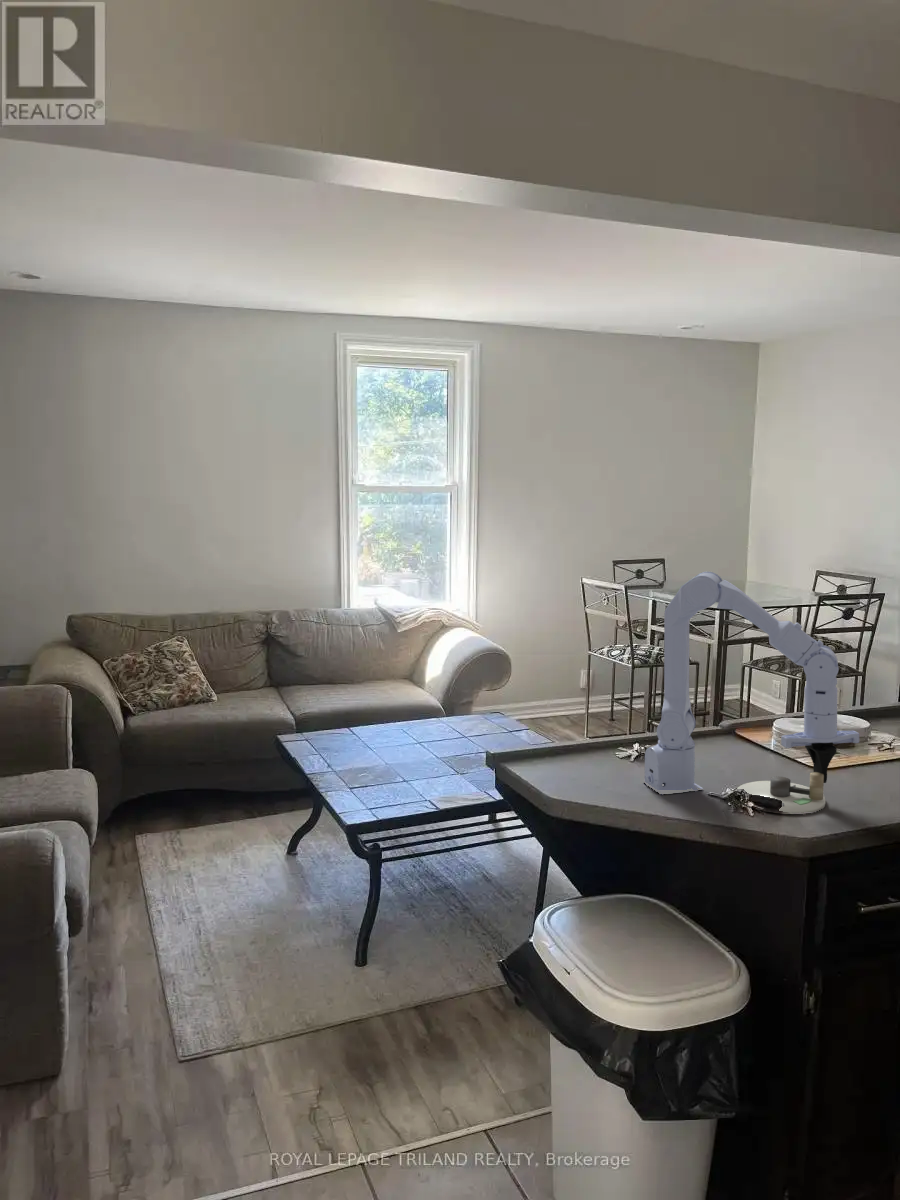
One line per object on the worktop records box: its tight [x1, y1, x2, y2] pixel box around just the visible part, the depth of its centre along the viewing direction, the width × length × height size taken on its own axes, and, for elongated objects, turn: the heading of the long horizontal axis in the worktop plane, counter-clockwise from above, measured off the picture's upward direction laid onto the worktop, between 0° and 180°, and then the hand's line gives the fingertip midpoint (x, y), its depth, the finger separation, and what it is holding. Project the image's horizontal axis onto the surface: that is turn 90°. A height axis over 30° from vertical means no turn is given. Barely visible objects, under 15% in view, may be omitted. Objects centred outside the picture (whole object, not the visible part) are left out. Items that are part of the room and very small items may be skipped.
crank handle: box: [769, 771, 825, 800], centre depth 164 cm, size 10×4×5 cm, turn 56°
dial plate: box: [736, 780, 826, 813], centre depth 166 cm, size 16×16×1 cm
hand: (819, 781), depth 163 cm, fingers closed, pressing on crank handle
